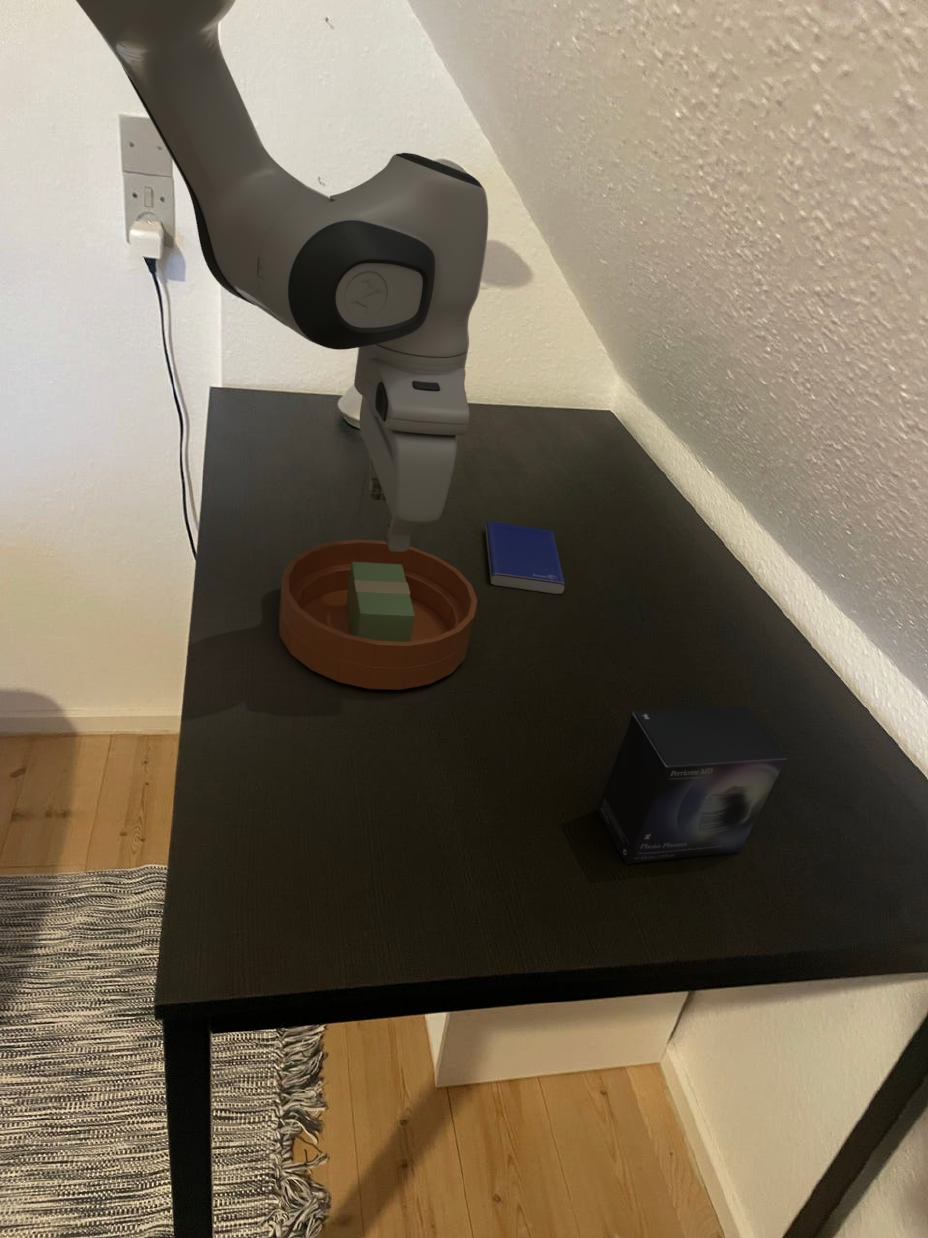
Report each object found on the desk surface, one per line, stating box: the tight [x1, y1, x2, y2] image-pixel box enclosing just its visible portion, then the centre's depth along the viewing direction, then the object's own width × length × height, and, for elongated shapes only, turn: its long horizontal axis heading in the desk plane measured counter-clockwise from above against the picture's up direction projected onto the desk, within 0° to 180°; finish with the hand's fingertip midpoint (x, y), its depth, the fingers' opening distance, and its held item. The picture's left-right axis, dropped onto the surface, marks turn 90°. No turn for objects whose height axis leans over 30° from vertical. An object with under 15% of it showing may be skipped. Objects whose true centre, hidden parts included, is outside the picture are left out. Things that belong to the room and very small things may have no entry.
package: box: [346, 562, 415, 642], centre depth 90 cm, size 5×9×5 cm, turn 10°
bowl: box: [278, 538, 478, 691], centre depth 90 cm, size 18×18×6 cm
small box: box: [595, 705, 787, 865], centre depth 73 cm, size 11×6×10 cm, turn 105°
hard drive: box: [485, 521, 566, 595], centre depth 109 cm, size 2×8×12 cm
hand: (387, 521), depth 85 cm, fingers open, 8 cm apart
